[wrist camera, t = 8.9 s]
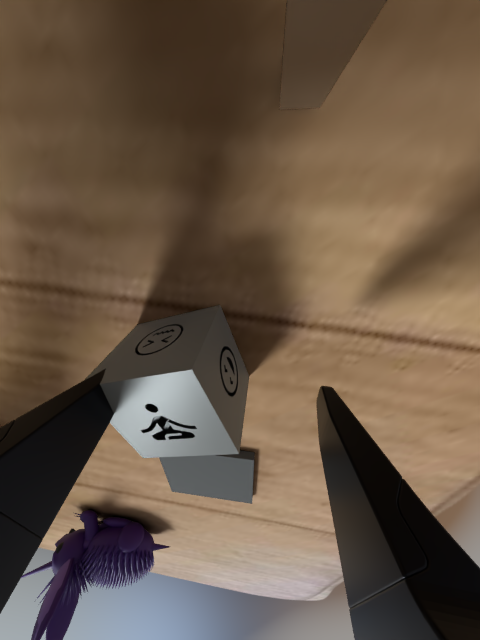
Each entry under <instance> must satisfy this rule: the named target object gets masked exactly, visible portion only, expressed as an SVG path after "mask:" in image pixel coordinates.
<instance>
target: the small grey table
mask: <svg viewBox="0 0 480 640" xmlns="http://www.w3.org/2000/svg"><path fill="white" fill-rule="evenodd" d="M386 1H387V0H287V3H286V17H285V31H284V45H283V60H282V76H281V92H280V108H279V110H284V109H306V108H320V106H321V105H322V103H323V102H324V100H325V98H326V97H327V95H328V94H329V92H330V90H331V89H332V87H333V86H334V84H335V82H336V81H337V79H338V78H339V76H340V74H341V73H342V71H343V70H344V68H345V66H346V65H347V63H348V62H349V60H350V59H351V57H352V55H353V54H354V52H355V51H356V49H357V47H358V46H359V44H360V43H361V41H362V39H363V38H364V36H365V35H366V33H367V31H368V30H369V28H370V27H371V25H372V23H373V22H374V20H375V19H376V17H377V16H378V14H379V12H380V11H381V9H382V8H383V6H384V4H385V3H386Z"/></svg>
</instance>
